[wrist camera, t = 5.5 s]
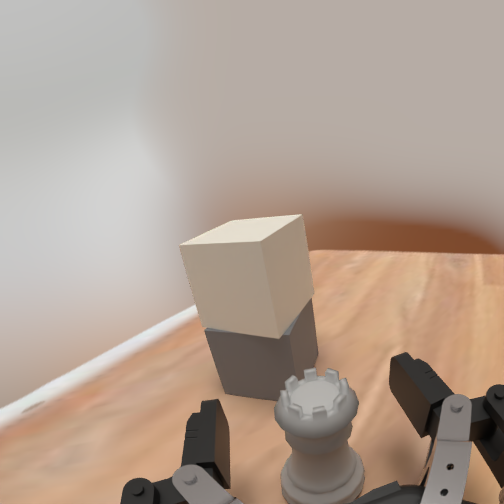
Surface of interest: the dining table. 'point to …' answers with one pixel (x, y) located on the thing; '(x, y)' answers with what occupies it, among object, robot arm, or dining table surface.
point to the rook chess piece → (319, 440)
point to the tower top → (250, 275)
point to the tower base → (264, 357)
